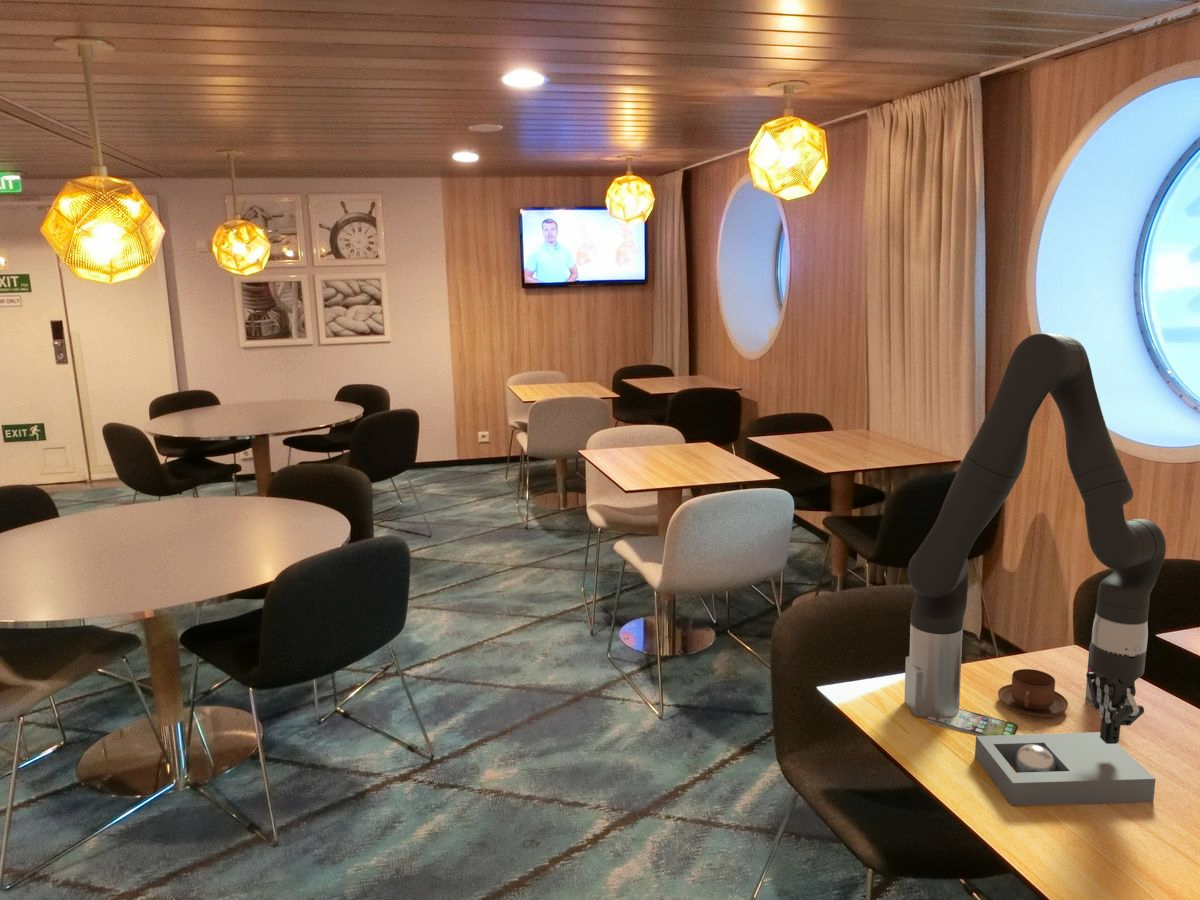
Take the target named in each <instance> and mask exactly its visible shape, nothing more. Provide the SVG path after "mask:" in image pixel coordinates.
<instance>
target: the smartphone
mask: <svg viewBox="0 0 1200 900" xmlns="http://www.w3.org/2000/svg"><path fill="white" fill-rule="evenodd" d="M925 722H927V723H929V724H932V725H937V726H939V727H945V728H948V729H952V730H955V731H959V732H964V733H968V734H973V735H975V736H989V735H1017V734H1016V733H1017V731H1018V729H1019V726H1018V724H1017V723H1014V722H1010V721H1007V720H1005V719H1004V720H1002V719H1000V718H995V717H993V716H992V717H991V716H988V715H984V714H981V713H976V712H973V711H968V710H966V709H962V708H959V713H958V714H957V715H956V716H954V717H950V718H932V717H928V716H926V718H925Z"/></svg>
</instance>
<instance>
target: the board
mask: <svg viewBox="0 0 1200 900" xmlns="http://www.w3.org/2000/svg"><path fill="white" fill-rule="evenodd" d="M1100 732H1101V731H1097V732H1096V731H1092V732H1091V731H1090V732H1089V731H1088V732H1064V733H1063V732H1059V733H1035V734H1034V733H1031V734H1030V733H1028V734H1027V733H1026V734H1023V733H1022V734H1015V735H989V736H980V735H975V744H974V745H975V746H974V752H975V753H974V758H975V759H976V761H978V763H979V764H980V766H981V767H982V768H983V769H984V771H985V773H986V774H987V775H988V777H989V778H990V779H991V780H992V783H994V784H995V786H996V787H997V788H998V790H999V791H1000V792H1001V794H1002V795H1003V796H1004V798H1005V799H1006V800H1007V802H1008V803H1009V804H1010V806H1012V807H1014V806H1015V807H1019V806H1051V805H1053V806H1054V805H1055V806H1056V805H1058V806H1059V805H1087V804H1088V805H1089V804H1091V805H1093V804H1094V805H1095V804H1116V803H1117V804H1121V803H1123V804H1125V803H1154V800H1155V799H1154V797H1155V791H1156V790H1155V788H1156V787H1155V786H1156V778H1155V777H1154V776H1153V775H1152V774H1151V773H1150V772H1149V771H1148V770H1146V768H1144V766H1142V765H1141V764H1140V763H1139V762H1138V760H1136V759H1135V758H1134V757H1133V756H1132V755H1131V754H1129V753H1128V752H1127V751H1126V749H1124V748H1123V747H1122V746H1121V745H1120V744H1119V742H1118V743H1116V744H1106V743H1105V742H1104V741H1103V740H1102V739H1101V738H1100ZM1028 744H1035V745H1039V746H1042V747H1044V748H1045V749H1047V750H1048V751H1049V752H1050V753H1051V755H1052V756H1053V758H1054V761H1055V772H1021V773H1019V772H1016V771H1015V769H1014V768H1013V767H1012V766H1013V765H1014V766H1015V755H1016V753H1017V751H1018V750H1019V749H1020V748H1021V747H1023V746H1025V745H1028Z"/></svg>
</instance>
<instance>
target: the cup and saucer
mask: <svg viewBox="0 0 1200 900" xmlns="http://www.w3.org/2000/svg"><path fill="white" fill-rule="evenodd" d="M997 695H998V700H1000V703H1002V704H1003V705H1004V706H1005V707H1006V708H1008V709H1010V710H1012V711H1013V712H1016V713H1018V714H1021V715H1024V716H1029V717H1033V718H1050V717H1051V718H1053V717H1057V716H1059V715H1061V714H1063V713H1064V712H1065V711H1066V710H1067V709H1068V707H1069V702H1068V701H1067V698H1066V697H1064V696H1063V694H1061V693H1059V692H1058V691H1056V679H1055V677H1054V676H1053V675H1051V674H1050V673H1047V672H1044V671H1041V670H1038V669H1031V668H1021V669H1018V670H1014V671H1013V672H1012V674H1011V683H1009V684H1005V685H1004V686H1001V688H999V689H998V691H997Z"/></svg>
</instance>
